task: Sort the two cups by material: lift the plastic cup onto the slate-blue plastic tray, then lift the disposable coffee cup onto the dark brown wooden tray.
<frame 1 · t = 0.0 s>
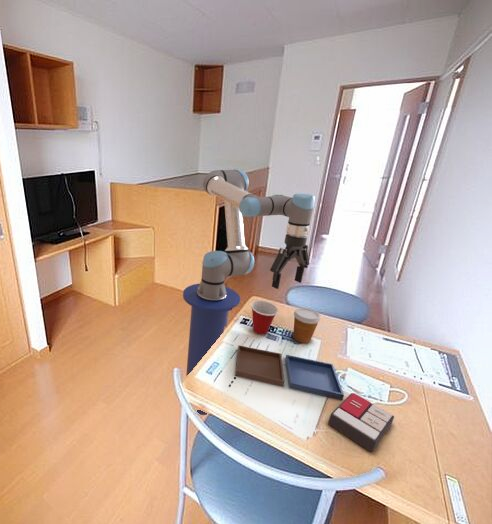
hand: (286, 284, 125), 21 cm above the table, tool pointing down, fingers open, 13 cm apart
plastic cup: (260, 331, 130), on the table
disposable coffee cup: (301, 339, 125), on the table
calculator: (359, 424, 87), on the table
plastic tray: (311, 377, 104), on the table
paper tray: (258, 366, 109), on the table
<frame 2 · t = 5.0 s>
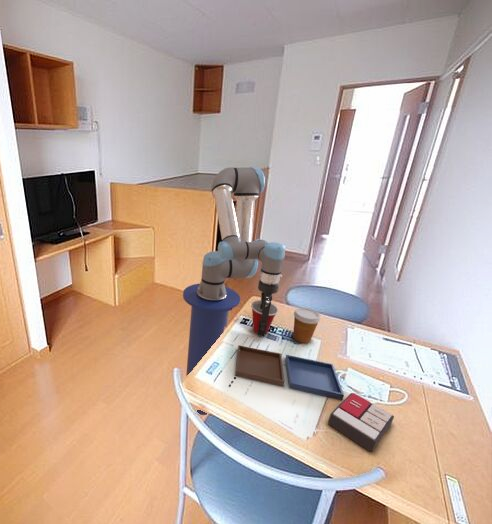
hand: (260, 330, 129), 1 cm above the table, tool pointing down, fingers closed on plastic cup, 8 cm apart
plastic cup: (260, 331, 130), on the table, touching gripper
everything else where it was.
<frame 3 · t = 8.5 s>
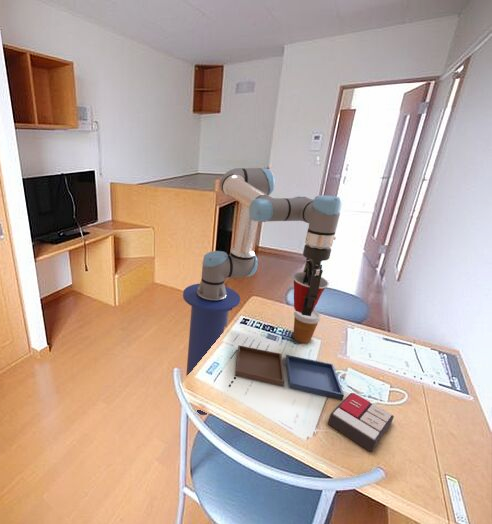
hand: (304, 308, 104), 22 cm above the table, tool pointing down, fingers closed on plastic cup, 8 cm apart
plastic cup: (303, 310, 105), point 21 cm above the table, touching gripper
everything else where it was.
when the fingers open (1 cm above the table, at t = 12.4 s): plastic cup stays where it is, resting on plastic tray.
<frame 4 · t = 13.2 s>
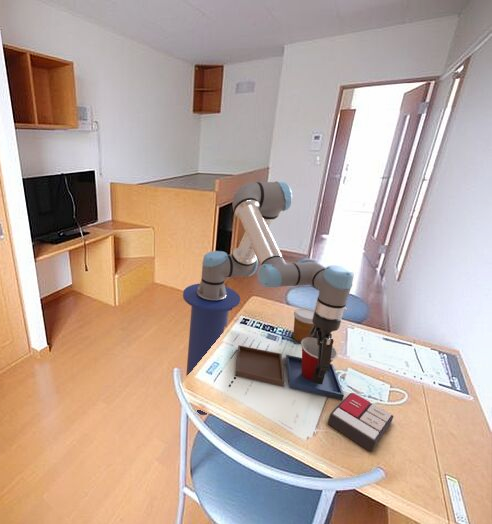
hand: (313, 369, 103), 4 cm above the table, tool pointing down, fingers open, 13 cm apart
plastic cup: (311, 376, 104), resting on plastic tray
everything else where it was.
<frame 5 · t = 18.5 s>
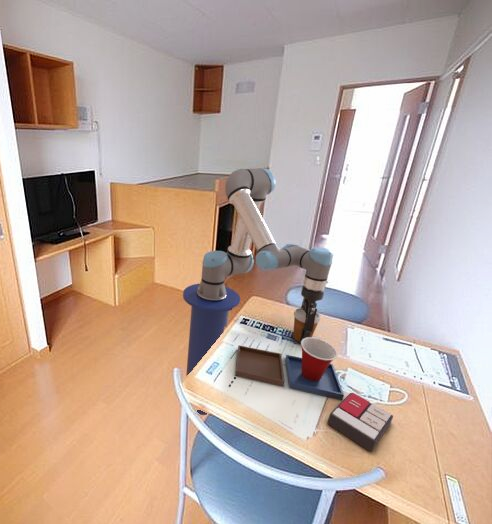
hand: (301, 337, 125), 1 cm above the table, tool pointing down, fingers closed on disposable coffee cup, 8 cm apart
disposable coffee cup: (301, 339, 125), on the table, touching gripper
everything else where it was.
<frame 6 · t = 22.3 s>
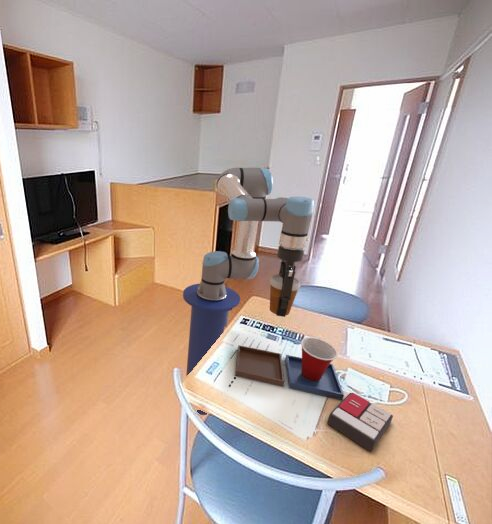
hand: (279, 309, 105), 21 cm above the table, tool pointing down, fingers closed on disposable coffee cup, 8 cm apart
disposable coffee cup: (279, 311, 105), point 21 cm above the table, touching gripper
everything else where it was.
when the fingers open (1 cm above the table, at t = 26.0 s): disposable coffee cup stays where it is, resting on paper tray.
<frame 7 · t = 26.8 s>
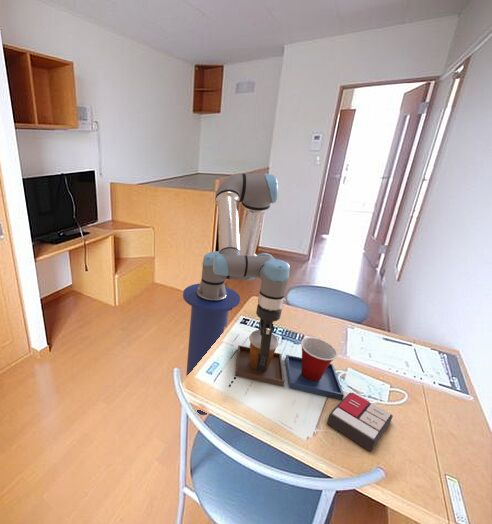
hand: (260, 358, 108), 4 cm above the table, tool pointing down, fingers open, 13 cm apart
disposable coffee cup: (259, 365, 109), resting on paper tray
everything else where it was.
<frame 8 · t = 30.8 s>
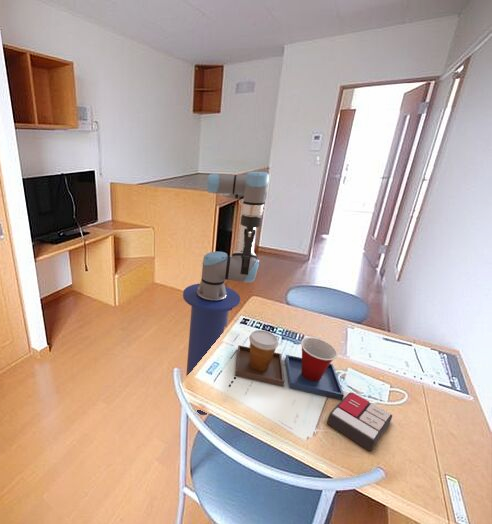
hand: (244, 267, 121), 29 cm above the table, tool pointing down, fingers open, 13 cm apart
nothing on the table moved.
at the end: plastic cup inside the target area in the plastic tray (0.3 cm from its centre), point 0.4 cm above the plastic tray's base; disposable coffee cup inside the target area in the paper tray (0.1 cm from its centre), point 0.4 cm above the paper tray's base; disposable coffee cup tilted 0° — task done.
